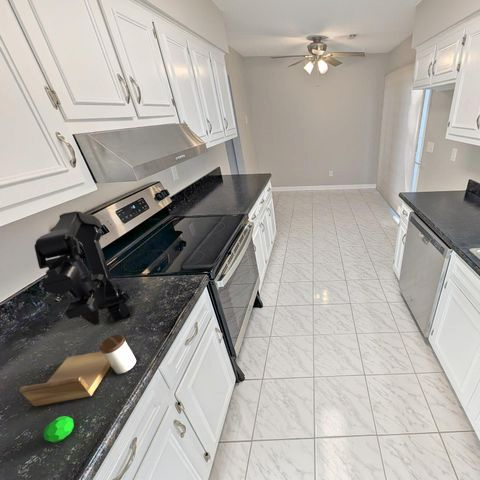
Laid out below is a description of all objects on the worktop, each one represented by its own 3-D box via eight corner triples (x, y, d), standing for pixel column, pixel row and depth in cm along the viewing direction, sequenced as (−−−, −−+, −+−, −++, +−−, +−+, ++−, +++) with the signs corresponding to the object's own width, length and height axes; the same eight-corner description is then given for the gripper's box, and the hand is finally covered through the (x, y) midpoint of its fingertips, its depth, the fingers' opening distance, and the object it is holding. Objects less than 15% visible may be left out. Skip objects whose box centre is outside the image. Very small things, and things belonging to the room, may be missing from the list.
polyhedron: (62, 424, 63) (51, 413, 61) (82, 421, 63) (73, 410, 61) (44, 448, 59) (32, 437, 57) (67, 445, 59) (55, 434, 57)
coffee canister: (110, 368, 77) (95, 345, 72) (131, 354, 81) (118, 331, 76) (119, 377, 74) (104, 354, 69) (140, 362, 78) (127, 339, 74)
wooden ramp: (71, 361, 80) (59, 345, 77) (118, 353, 82) (108, 337, 78) (34, 406, 68) (17, 390, 64) (91, 396, 69) (77, 379, 66)
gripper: (50, 269, 77) (75, 308, 85) (23, 303, 63) (57, 347, 70) (94, 257, 82) (115, 295, 89) (80, 287, 67) (106, 330, 74)
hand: (99, 315), depth 81 cm, fingers open, 9 cm apart
